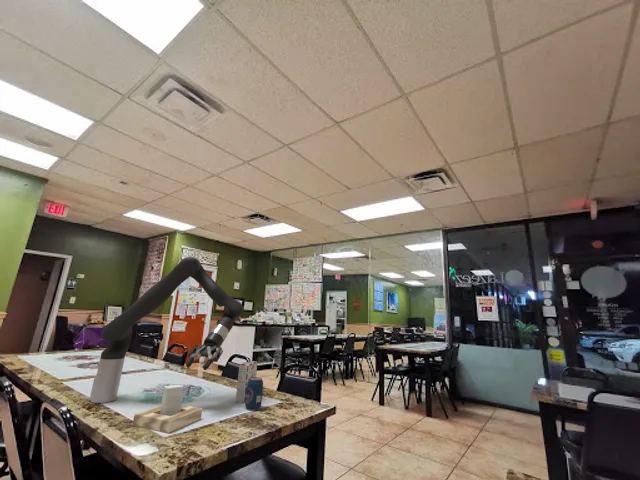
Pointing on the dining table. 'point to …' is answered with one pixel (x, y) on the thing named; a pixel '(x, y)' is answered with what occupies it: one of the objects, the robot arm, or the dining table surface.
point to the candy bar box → (245, 379)
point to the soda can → (254, 393)
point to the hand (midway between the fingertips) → (195, 367)
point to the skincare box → (172, 400)
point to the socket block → (166, 419)
